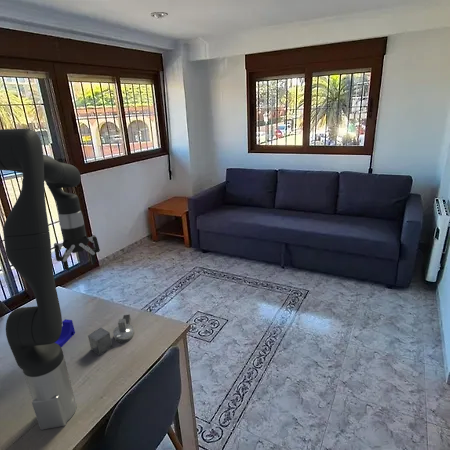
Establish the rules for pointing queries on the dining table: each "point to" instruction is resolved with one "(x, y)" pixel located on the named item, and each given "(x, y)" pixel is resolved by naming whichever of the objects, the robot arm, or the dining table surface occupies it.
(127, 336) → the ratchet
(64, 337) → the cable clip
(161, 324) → the dining table surface
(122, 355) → the dining table surface
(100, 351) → the grey paneled cube
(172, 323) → the dining table surface
